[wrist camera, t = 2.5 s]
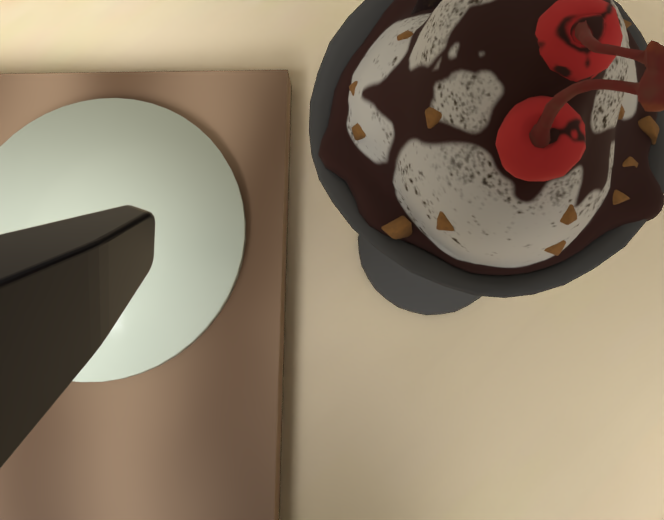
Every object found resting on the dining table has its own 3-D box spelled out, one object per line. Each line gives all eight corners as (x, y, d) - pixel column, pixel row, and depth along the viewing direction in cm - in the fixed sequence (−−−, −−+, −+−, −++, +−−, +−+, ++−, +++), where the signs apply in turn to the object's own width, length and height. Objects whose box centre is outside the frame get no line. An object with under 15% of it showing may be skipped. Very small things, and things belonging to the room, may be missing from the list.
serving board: (291, 86, 23) (287, 70, 21) (277, 553, 19) (272, 564, 18) (-75, 90, 23) (-99, 74, 22) (-150, 543, 20) (-182, 552, 19)
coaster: (305, 217, 20) (304, 213, 20) (104, 446, 19) (98, 448, 19) (102, 52, 22) (98, 46, 21) (-95, 254, 21) (-104, 252, 20)
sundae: (453, 383, 20) (702, 361, 5) (295, 260, 21) (148, -35, 7) (568, 229, 21) (1049, -147, 6) (411, 119, 22) (509, -418, 7)
